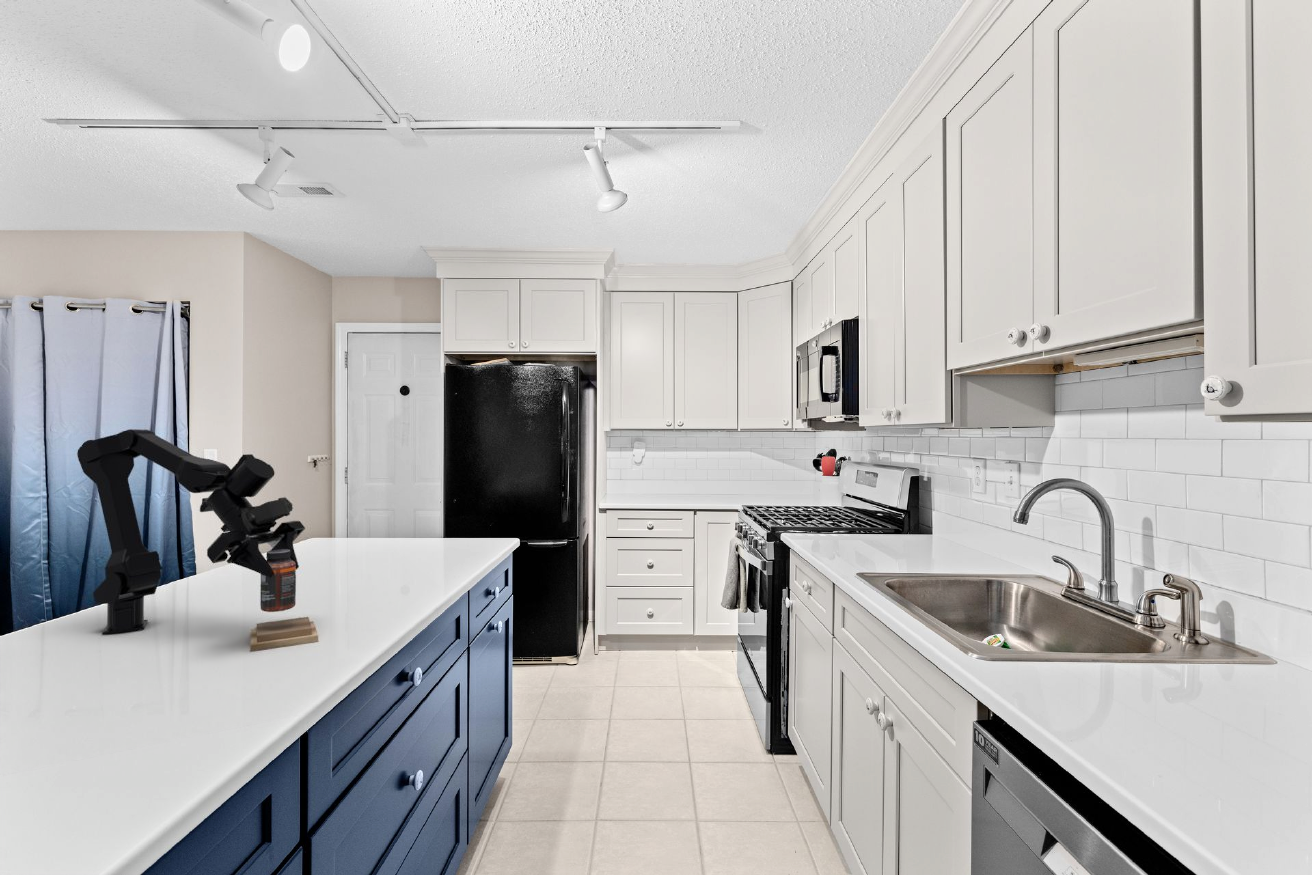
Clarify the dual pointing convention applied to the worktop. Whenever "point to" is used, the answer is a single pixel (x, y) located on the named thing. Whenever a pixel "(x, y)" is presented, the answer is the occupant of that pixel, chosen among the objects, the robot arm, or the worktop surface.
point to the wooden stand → (283, 633)
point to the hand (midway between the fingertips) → (284, 572)
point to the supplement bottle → (279, 582)
